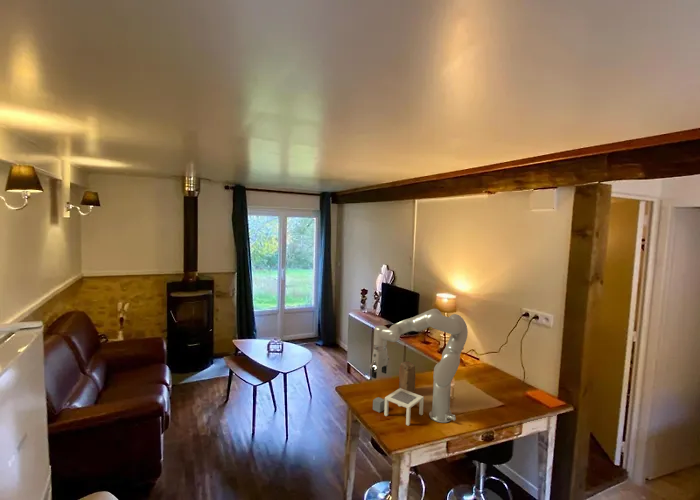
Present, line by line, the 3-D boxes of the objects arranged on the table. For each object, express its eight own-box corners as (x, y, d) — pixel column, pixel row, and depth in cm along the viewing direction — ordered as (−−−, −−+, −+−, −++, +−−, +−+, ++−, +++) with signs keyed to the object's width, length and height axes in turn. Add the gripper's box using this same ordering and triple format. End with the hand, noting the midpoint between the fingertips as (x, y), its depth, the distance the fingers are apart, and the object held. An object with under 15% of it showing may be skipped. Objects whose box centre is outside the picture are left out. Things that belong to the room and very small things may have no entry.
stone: (384, 409, 219) (385, 399, 218) (379, 412, 215) (380, 402, 215) (377, 406, 222) (378, 396, 222) (372, 409, 218) (373, 399, 218)
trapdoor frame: (422, 414, 215) (423, 396, 214) (408, 425, 202) (409, 407, 201) (399, 404, 225) (399, 388, 224) (384, 415, 213) (384, 397, 212)
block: (415, 395, 237) (416, 365, 235) (405, 397, 234) (406, 366, 232) (406, 388, 247) (407, 359, 245) (396, 390, 244) (397, 360, 242)
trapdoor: (416, 398, 213) (416, 397, 213) (407, 404, 206) (407, 403, 206) (401, 392, 220) (401, 391, 220) (391, 398, 212) (391, 397, 212)
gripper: (376, 352, 209) (375, 381, 211) (393, 345, 222) (392, 372, 224) (365, 349, 214) (364, 377, 216) (383, 342, 227) (382, 369, 229)
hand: (379, 375), depth 220 cm, fingers open, 9 cm apart
